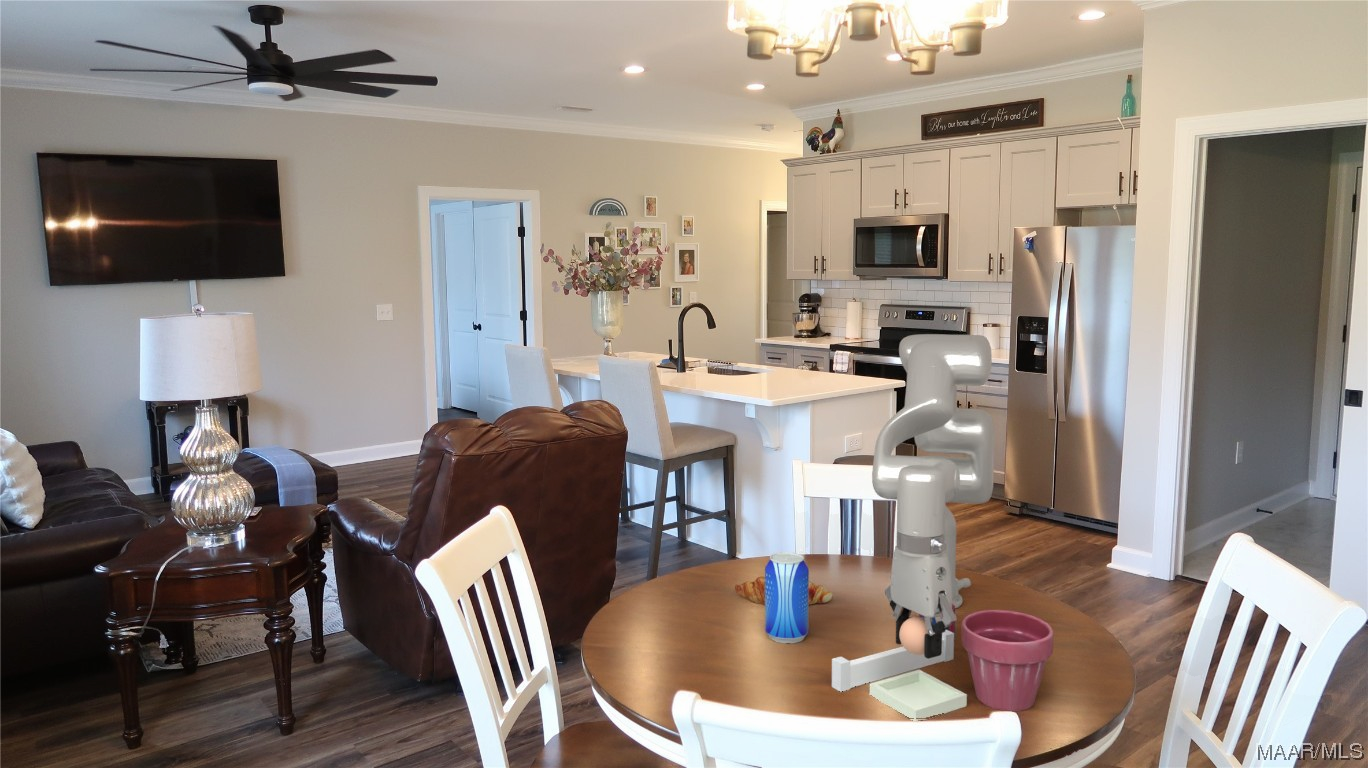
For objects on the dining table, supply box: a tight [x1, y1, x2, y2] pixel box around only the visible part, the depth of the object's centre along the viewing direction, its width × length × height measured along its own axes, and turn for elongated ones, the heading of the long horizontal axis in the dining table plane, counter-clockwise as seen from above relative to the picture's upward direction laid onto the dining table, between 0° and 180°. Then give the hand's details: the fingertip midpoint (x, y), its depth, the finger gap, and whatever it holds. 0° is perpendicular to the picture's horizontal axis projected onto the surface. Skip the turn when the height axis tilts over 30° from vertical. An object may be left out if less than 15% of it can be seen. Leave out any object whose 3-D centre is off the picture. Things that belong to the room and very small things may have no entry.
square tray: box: [869, 669, 968, 722], centre depth 151 cm, size 11×11×2 cm
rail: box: [831, 630, 955, 693], centre depth 161 cm, size 26×2×5 cm, turn 119°
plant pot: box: [961, 609, 1054, 712], centre depth 150 cm, size 14×14×13 cm
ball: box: [899, 616, 928, 655], centre depth 149 cm, size 6×6×6 cm
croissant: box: [734, 576, 834, 605], centre depth 197 cm, size 21×10×8 cm, turn 81°
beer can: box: [764, 551, 810, 644], centre depth 177 cm, size 8×8×16 cm
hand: (918, 648), depth 150 cm, fingers closed on ball, 5 cm apart
